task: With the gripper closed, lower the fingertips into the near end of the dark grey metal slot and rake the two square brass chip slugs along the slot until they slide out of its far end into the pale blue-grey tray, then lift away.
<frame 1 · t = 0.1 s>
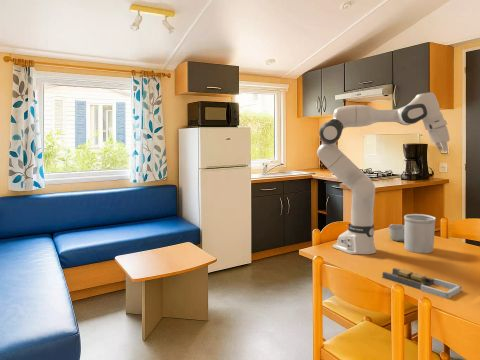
hand: (443, 150, 188), 52 cm above the table, tool tilted 20°, fingers open, 8 cm apart
teacup: (397, 239, 223), on the table
chip a: (405, 279, 159), point 1 cm above the table, touching slot bed
tray: (440, 293, 148), on the table
slot bed: (407, 282, 158), on the table
utensil holder: (418, 249, 203), on the table
chip b: (418, 283, 155), point 1 cm above the table, touching slot bed
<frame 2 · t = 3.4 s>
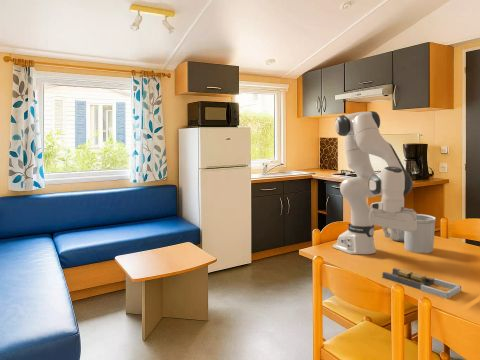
hand: (391, 238, 162), 17 cm above the table, tool pointing down, fingers open, 3 cm apart
nothing on the table moved.
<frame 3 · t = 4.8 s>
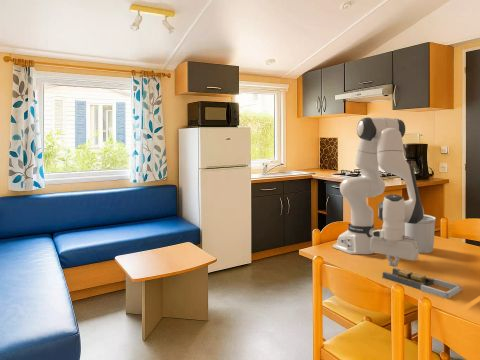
hand: (393, 266, 163), 5 cm above the table, tool pointing down, fingers closed
nothing on the table moved.
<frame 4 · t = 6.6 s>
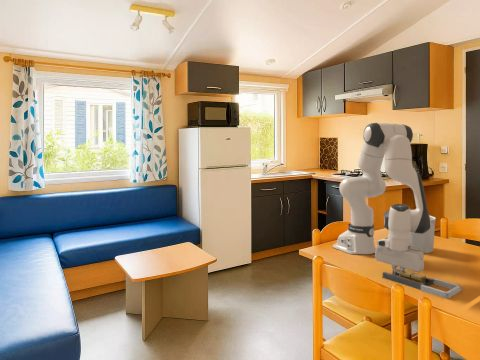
hand: (398, 276, 161), 2 cm above the table, tool pointing down, fingers closed
chip a: (407, 280, 158), point 1 cm above the table, touching gripper
everything else where it was.
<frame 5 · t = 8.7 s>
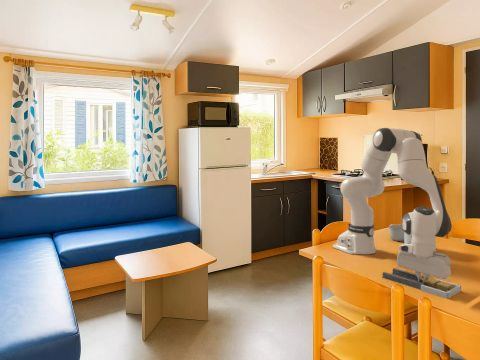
hand: (422, 283, 153), 2 cm above the table, tool pointing down, fingers closed
chip a: (430, 287, 151), point 1 cm above the table, tilted 8°, touching gripper, slot bed, tray
chip b: (444, 292, 147), point 1 cm above the table, touching tray
everything else where it was.
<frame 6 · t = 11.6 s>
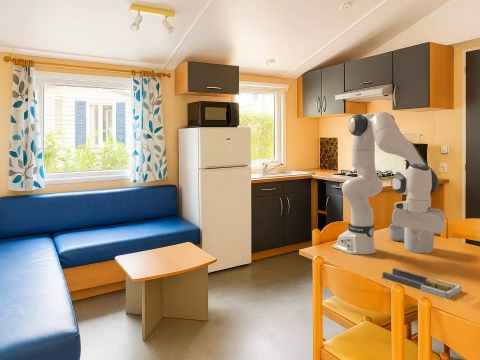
hand: (416, 240, 154), 19 cm above the table, tool pointing down, fingers closed
chip a: (432, 288, 150), point 1 cm above the table, tilted 6°, touching slot bed, tray
everything else where it was.
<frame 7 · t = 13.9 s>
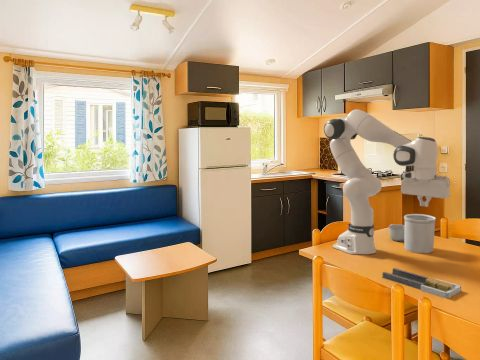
hand: (424, 206, 169), 29 cm above the table, tool pointing down, fingers closed
nothing on the table moved.
at the end: chip a inside the target area on the tray (2.7 cm from its centre), point 0.8 cm above the tray's base; chip b inside the target area on the tray (1.8 cm from its centre), point 0.6 cm above the tray's base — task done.
